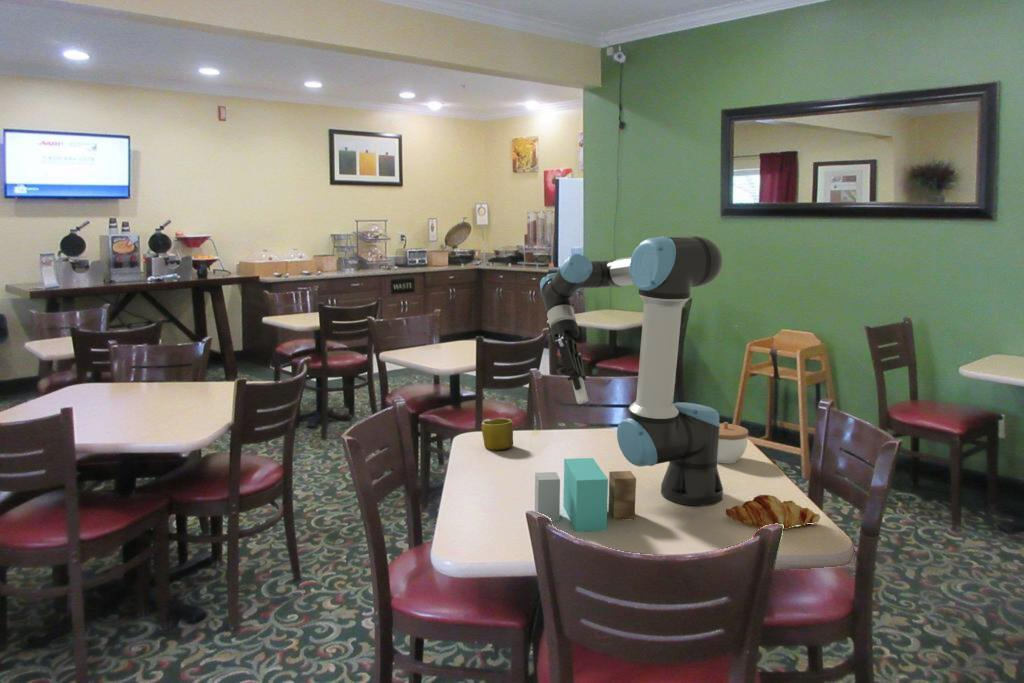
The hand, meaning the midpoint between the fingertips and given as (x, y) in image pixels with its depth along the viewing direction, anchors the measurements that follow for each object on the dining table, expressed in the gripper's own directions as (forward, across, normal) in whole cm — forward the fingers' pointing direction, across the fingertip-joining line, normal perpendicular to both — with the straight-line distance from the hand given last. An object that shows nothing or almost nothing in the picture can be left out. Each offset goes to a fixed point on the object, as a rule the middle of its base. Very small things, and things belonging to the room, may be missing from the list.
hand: (582, 401), depth 200 cm
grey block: (+30, +12, -11) cm, 34 cm away
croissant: (+42, -10, +34) cm, 54 cm away
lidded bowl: (+13, -44, +23) cm, 51 cm away
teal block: (+32, +9, -4) cm, 33 cm away
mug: (-7, -22, -37) cm, 44 cm away
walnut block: (+32, +4, +3) cm, 33 cm away
